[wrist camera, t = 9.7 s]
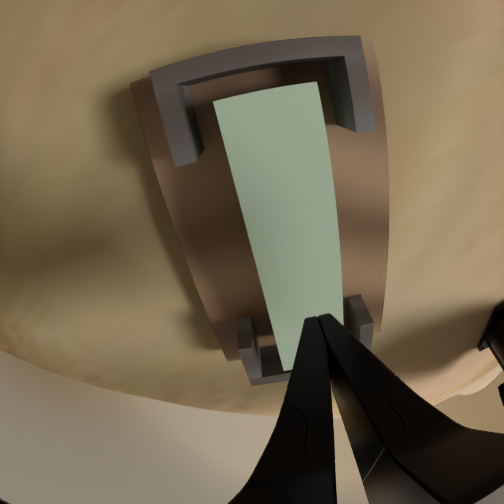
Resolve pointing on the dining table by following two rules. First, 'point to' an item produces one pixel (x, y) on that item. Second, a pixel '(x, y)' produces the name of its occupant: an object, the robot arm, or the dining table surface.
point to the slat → (286, 203)
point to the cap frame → (225, 195)
